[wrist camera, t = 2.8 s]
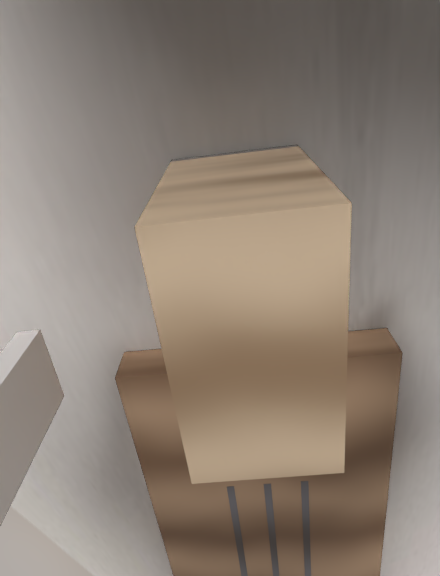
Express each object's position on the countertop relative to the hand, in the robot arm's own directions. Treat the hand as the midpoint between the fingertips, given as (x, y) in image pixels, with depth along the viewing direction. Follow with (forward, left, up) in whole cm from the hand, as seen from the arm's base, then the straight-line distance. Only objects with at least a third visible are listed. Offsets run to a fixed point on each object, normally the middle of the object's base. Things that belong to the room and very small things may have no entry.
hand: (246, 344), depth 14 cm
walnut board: (+12, +10, -6) cm, 17 cm away
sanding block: (0, 0, -6) cm, 6 cm away
